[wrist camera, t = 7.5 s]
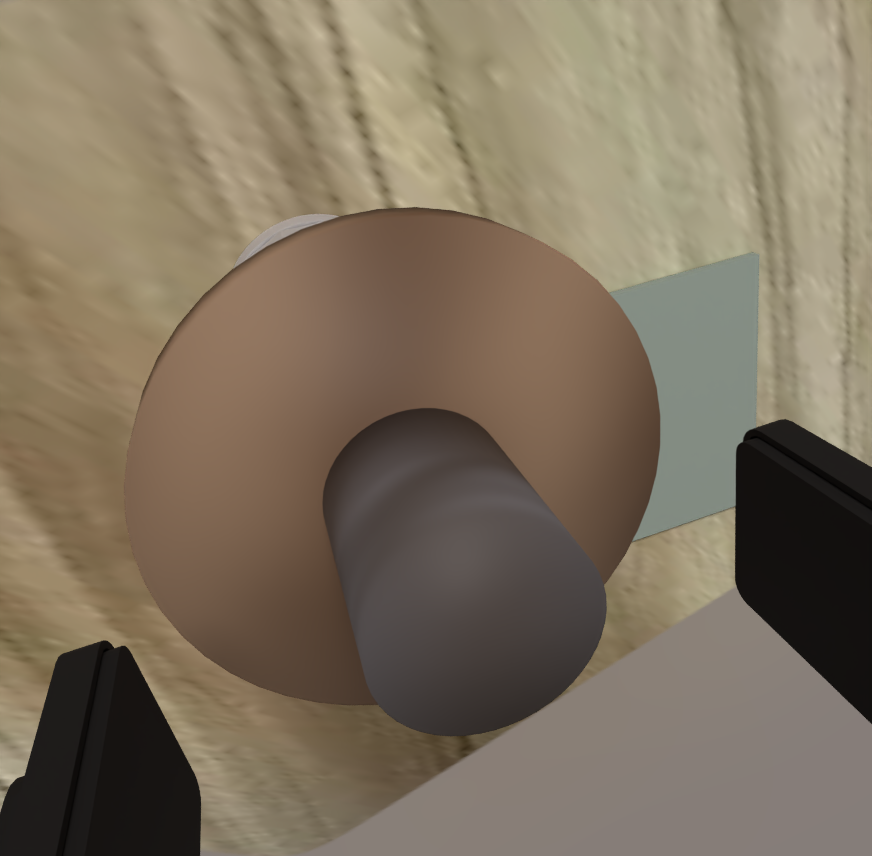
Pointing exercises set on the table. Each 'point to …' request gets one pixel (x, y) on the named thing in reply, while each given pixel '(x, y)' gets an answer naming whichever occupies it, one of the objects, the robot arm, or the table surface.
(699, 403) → the mat
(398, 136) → the table surface
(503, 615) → the lid
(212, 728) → the table surface
